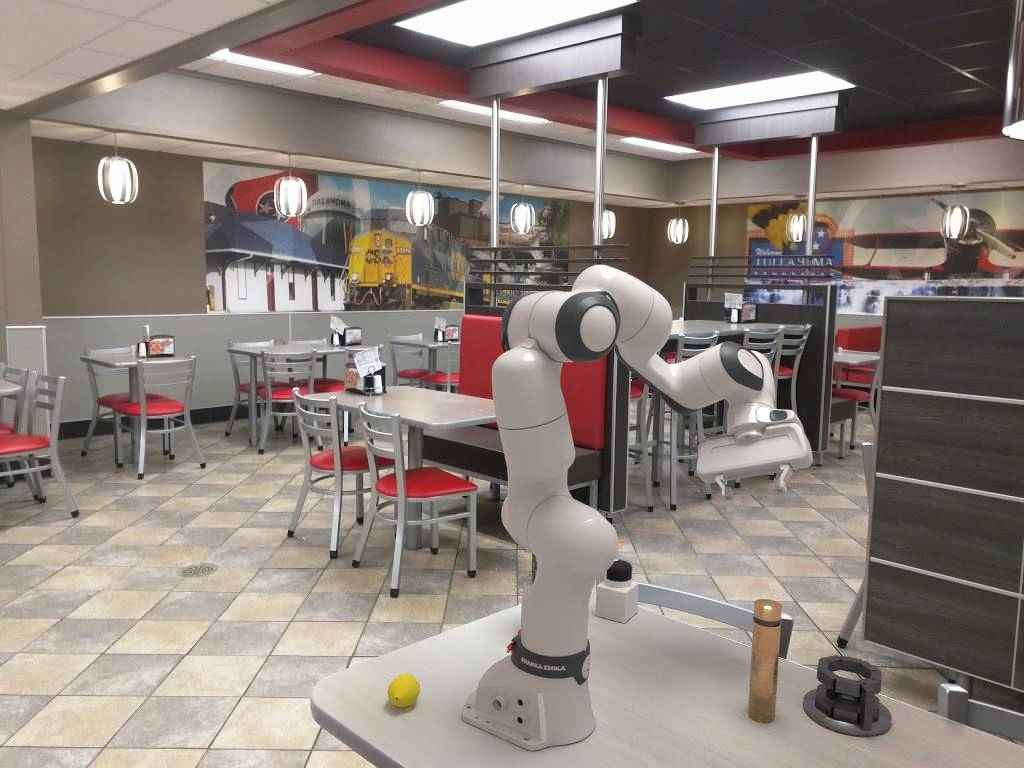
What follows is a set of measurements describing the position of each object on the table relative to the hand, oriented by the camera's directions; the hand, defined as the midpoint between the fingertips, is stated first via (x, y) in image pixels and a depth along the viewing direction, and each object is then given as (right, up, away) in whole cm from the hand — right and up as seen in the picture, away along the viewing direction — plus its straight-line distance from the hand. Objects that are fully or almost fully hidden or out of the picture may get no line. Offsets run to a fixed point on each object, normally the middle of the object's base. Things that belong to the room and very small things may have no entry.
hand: (753, 494), depth 137 cm
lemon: (-61, -37, -1) cm, 71 cm away
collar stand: (+16, -37, -2) cm, 41 cm away
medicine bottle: (-19, -32, +38) cm, 53 cm away
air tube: (+1, -37, -3) cm, 38 cm away
